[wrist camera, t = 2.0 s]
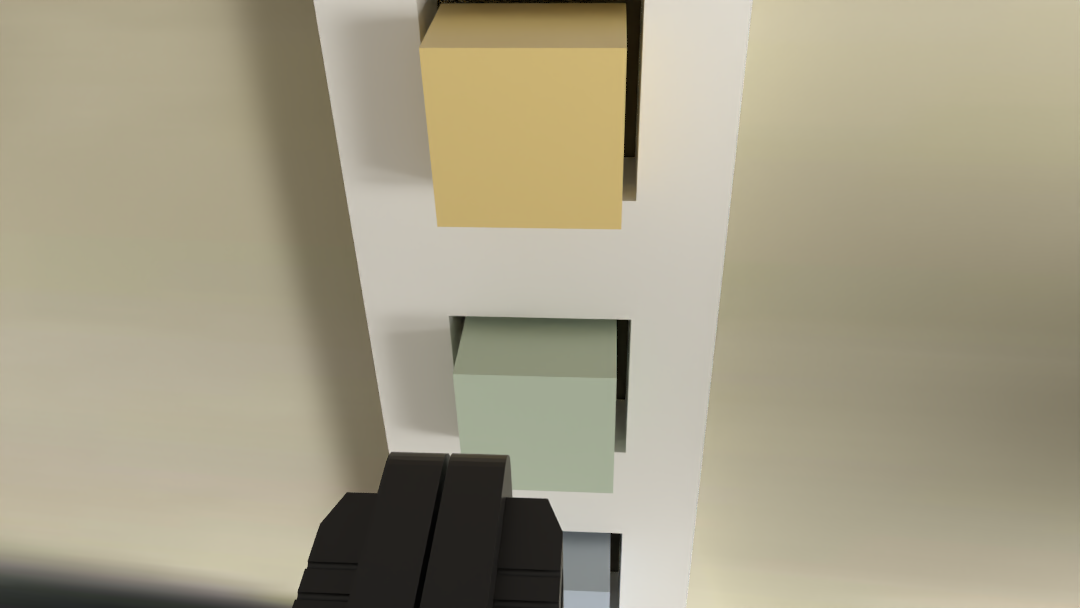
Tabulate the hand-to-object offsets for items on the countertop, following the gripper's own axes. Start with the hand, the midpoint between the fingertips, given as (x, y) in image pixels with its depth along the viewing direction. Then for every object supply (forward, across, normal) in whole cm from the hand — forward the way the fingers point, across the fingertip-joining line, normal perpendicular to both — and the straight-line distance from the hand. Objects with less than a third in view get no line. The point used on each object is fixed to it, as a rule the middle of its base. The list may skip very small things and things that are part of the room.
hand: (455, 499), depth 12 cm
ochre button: (+14, 0, 0) cm, 14 cm away
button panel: (+15, 0, +11) cm, 19 cm away
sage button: (+14, 0, +9) cm, 17 cm away
